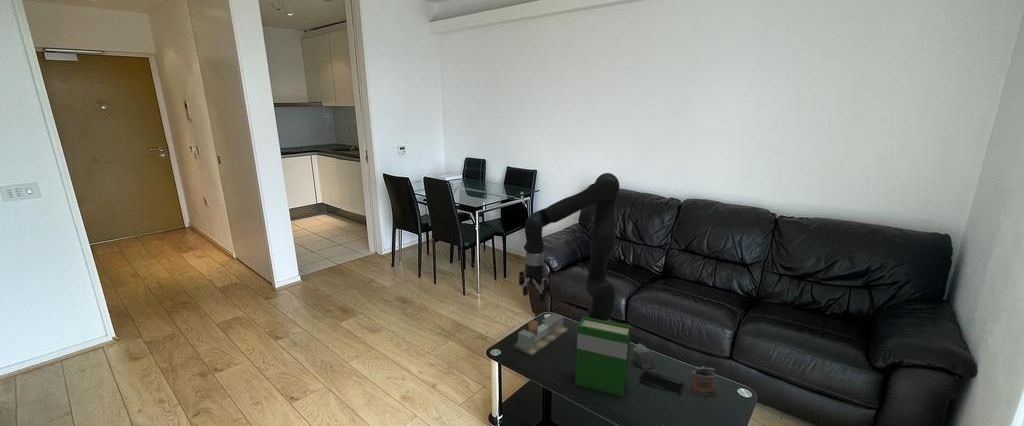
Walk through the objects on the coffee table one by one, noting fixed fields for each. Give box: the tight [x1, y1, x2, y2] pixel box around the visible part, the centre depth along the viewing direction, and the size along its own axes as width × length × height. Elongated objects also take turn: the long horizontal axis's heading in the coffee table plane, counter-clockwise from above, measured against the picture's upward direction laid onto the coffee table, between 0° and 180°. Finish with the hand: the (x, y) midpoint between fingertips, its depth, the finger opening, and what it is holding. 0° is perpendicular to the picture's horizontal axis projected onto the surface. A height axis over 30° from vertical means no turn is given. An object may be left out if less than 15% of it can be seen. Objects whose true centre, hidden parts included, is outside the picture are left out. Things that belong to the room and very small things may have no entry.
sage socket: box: [517, 329, 535, 351], centre depth 178 cm, size 4×6×6 cm, turn 50°
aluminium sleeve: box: [540, 312, 565, 336], centre depth 193 cm, size 10×5×5 cm, turn 140°
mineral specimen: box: [632, 342, 655, 370], centre depth 168 cm, size 7×9×8 cm
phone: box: [638, 370, 685, 397], centre depth 158 cm, size 8×1×15 cm
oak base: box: [513, 326, 569, 357], centre depth 187 cm, size 27×10×1 cm, turn 140°
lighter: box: [689, 365, 717, 396], centre depth 153 cm, size 8×3×10 cm, turn 80°
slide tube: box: [528, 320, 550, 342], centre depth 183 cm, size 17×4×8 cm, turn 140°
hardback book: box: [574, 316, 632, 398], centre depth 154 cm, size 18×7×24 cm, turn 67°
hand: (533, 298), depth 177 cm, fingers open, 8 cm apart
